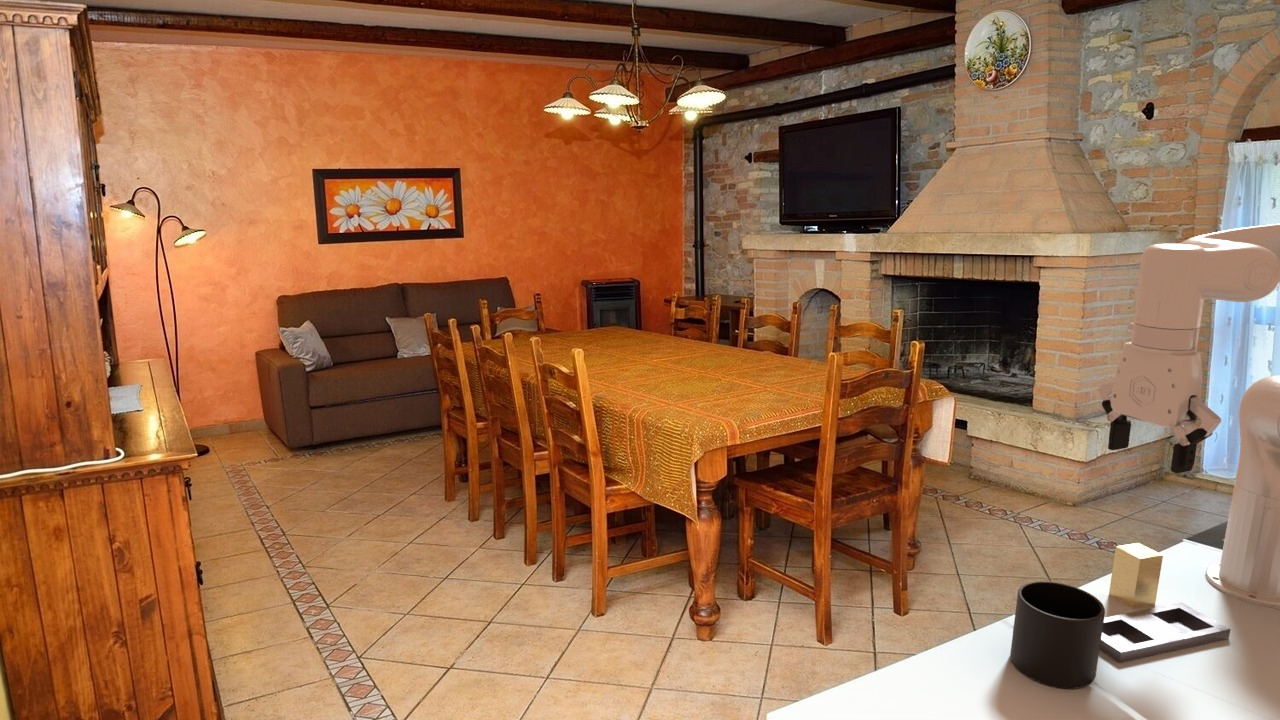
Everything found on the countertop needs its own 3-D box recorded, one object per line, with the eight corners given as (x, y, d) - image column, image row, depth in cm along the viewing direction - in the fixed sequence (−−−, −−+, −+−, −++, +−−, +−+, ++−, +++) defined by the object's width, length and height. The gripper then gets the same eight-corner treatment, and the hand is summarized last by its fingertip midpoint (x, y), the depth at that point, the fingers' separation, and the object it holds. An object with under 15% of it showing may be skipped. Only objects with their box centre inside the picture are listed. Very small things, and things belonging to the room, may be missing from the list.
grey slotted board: (1179, 615, 115) (1181, 602, 114) (1227, 642, 108) (1230, 629, 108) (1074, 637, 109) (1076, 623, 109) (1118, 667, 103) (1121, 652, 102)
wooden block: (1130, 594, 120) (1138, 542, 119) (1154, 607, 117) (1163, 555, 115) (1108, 598, 119) (1115, 546, 117) (1132, 612, 115) (1140, 558, 114)
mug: (1129, 675, 101) (1140, 607, 99) (1053, 697, 97) (1063, 626, 95) (1065, 635, 110) (1073, 572, 108) (993, 653, 105) (1000, 588, 103)
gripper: (1088, 328, 118) (1076, 444, 122) (1206, 353, 102) (1187, 485, 106) (1128, 324, 121) (1114, 437, 125) (1249, 348, 105) (1229, 477, 109)
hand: (1148, 459), depth 115 cm, fingers open, 9 cm apart
